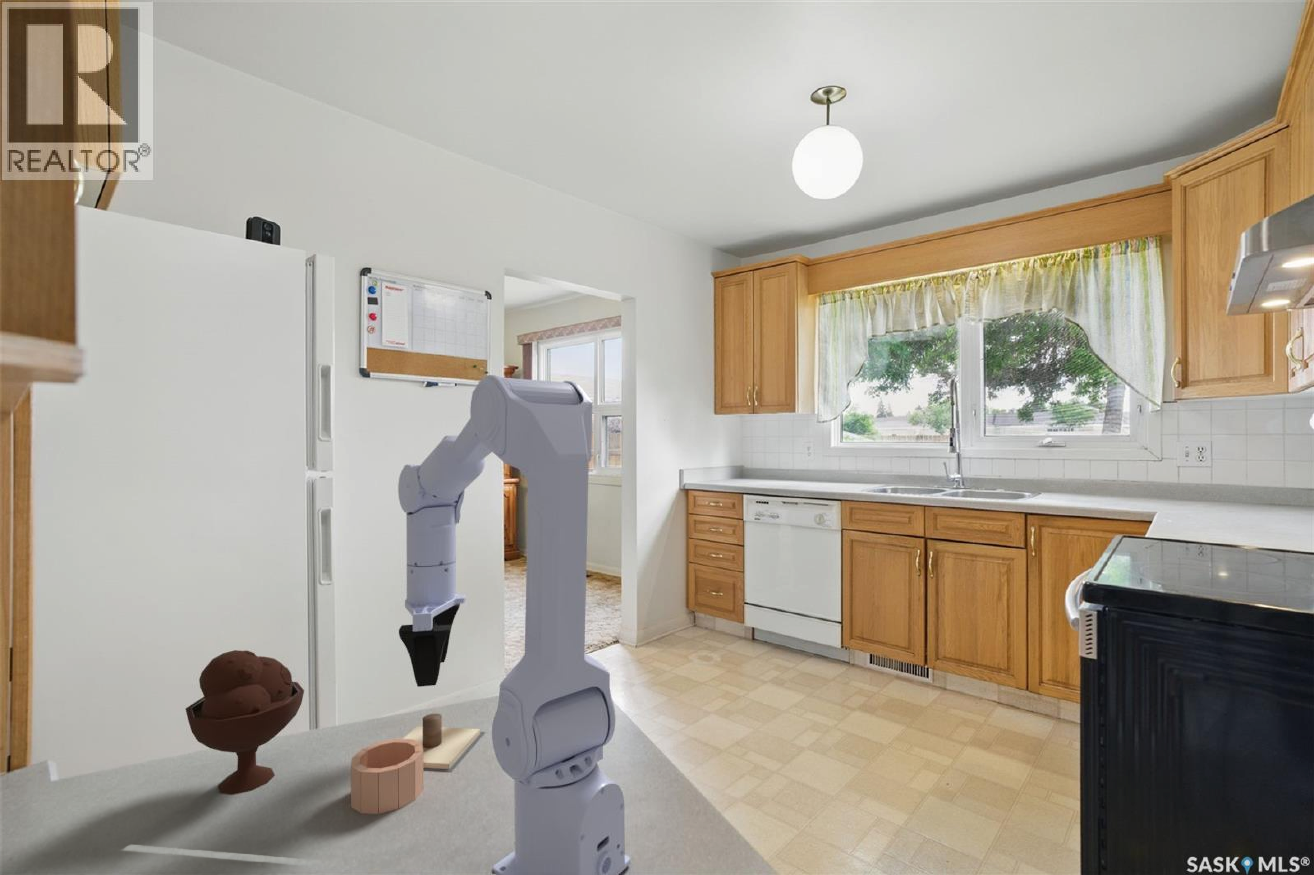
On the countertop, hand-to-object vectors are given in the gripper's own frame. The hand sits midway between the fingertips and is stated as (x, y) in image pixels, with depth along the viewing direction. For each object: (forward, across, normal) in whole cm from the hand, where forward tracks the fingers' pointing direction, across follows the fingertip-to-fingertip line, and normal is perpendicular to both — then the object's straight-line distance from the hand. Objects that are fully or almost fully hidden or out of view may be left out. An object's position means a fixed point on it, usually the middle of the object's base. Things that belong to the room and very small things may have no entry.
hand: (431, 673), depth 74 cm
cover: (+9, 0, 0) cm, 9 cm away
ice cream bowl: (+10, -3, +19) cm, 22 cm away
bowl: (+10, -9, +3) cm, 14 cm away
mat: (+10, 0, 0) cm, 10 cm away
